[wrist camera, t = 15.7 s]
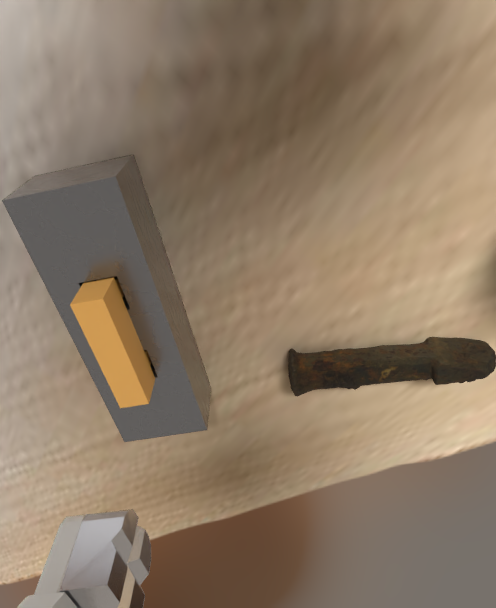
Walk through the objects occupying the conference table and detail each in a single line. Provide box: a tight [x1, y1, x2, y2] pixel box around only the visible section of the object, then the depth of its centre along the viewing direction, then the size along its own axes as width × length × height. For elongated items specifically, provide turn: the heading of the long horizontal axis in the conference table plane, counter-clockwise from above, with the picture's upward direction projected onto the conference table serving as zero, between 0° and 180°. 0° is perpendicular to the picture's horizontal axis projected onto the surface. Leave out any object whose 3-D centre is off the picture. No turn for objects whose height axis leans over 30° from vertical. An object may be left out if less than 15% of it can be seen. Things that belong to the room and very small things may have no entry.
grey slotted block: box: [2, 155, 211, 442], centre depth 39 cm, size 24×8×6 cm, turn 12°
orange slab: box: [70, 276, 155, 408], centre depth 38 cm, size 10×2×8 cm, turn 12°
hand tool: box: [288, 337, 496, 396], centre depth 43 cm, size 19×4×5 cm, turn 95°
